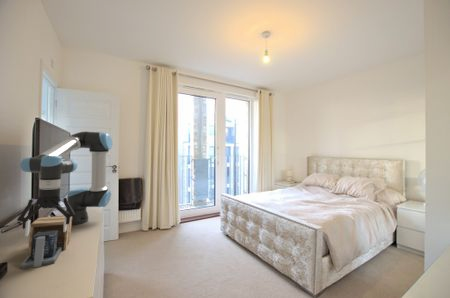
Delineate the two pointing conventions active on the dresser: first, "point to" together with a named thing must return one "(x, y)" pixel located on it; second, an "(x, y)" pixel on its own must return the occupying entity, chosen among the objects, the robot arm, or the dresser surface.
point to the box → (46, 243)
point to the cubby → (51, 229)
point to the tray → (40, 255)
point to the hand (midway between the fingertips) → (46, 233)
